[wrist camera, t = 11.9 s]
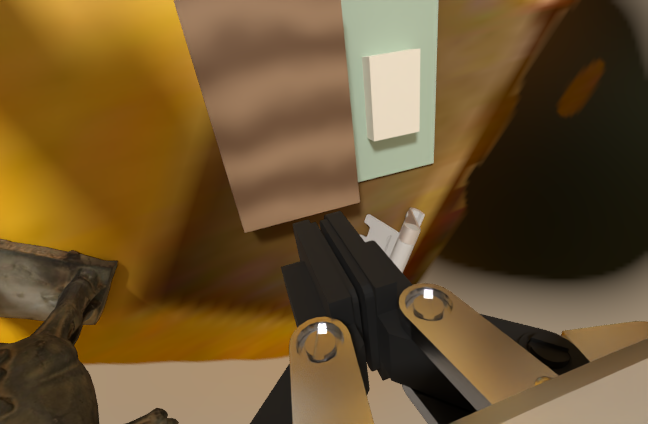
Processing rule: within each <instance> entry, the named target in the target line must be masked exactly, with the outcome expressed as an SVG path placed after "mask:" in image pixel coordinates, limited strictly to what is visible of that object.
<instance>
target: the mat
mask: <svg viewBox="0 0 648 424" xmlns="http://www.w3.org/2000/svg"><path fill="white" fill-rule="evenodd" d="M341 7H342V17H343V28H344V39H345V49H346V60H347V70H348V81H349V92H350V102H351V113H352V123H353V134H354V145H355V155H356V166H357V177H358V182H361V181H365V180H369V179H373V178H377V177H381V176H385V175H389V174H393V173H396V172H400V171H404V170H408V169H412V168H416V167H420V166H424V165H428V164H432V163H434V131H435V97H436V63H437V29H438V0H341ZM408 49H420V129H419V132H415V133H410V134H406V135H401V136H397V137H392V138H388V139H383V140H379V141H372V140H370V139H368V138H367V127H366V112H365V97H364V82H363V67H362V57H365V56H371V55H378V54H384V53H390V52H396V51H402V50H408Z"/></svg>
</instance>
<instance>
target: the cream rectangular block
mask: <svg viewBox="0 0 648 424" xmlns="http://www.w3.org/2000/svg"><path fill="white" fill-rule="evenodd" d="M362 67H363V82H364V97H365V112H366V127H367V138H368V139H370V140H372V141H379V140H383V139H388V138H392V137H397V136H401V135H406V134H410V133H415V132H419V129H420V49H408V50H402V51H396V52H390V53H384V54H378V55H371V56H365V57H362Z"/></svg>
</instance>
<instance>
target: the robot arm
mask: <svg viewBox="0 0 648 424" xmlns="http://www.w3.org/2000/svg"><path fill="white" fill-rule="evenodd" d="M320 228H321V230H320V229H319V227H318V225H317V223H316V222H313V223H310V221H309V220H304V221H301V222H297V223H293V230H294V234H295V239H296V244H297V248H298V253H299V257H300V262H296V263H293V264H290V265H286V266H283V267H281V269H282V273H283V277H284V281H285V285H286V289H287V293H288V296H289V300H290V304H291V307H292V311H293V314H294V318H295V321H296V325H297V329H296V330H295V331H294V333H293V335H292V337H291V339H290V344H289V357H290V364H289V365H288V367H287V368H286V370H285V371H284V373H283V375H282V376H281V377H280V379H279V380H278V382H277V384H276V385H275V387H274V388H273V390H272V391H271V393H270V394H269V396H268V398H267V399H266V400H265V402H264V403H263V405H262V406H261V408H260V409H259V411H258V413H257V414H256V415H255V417H254V418H253V420H252V422H251V423H250V424H374V421H373V418H372V414H371V410H370V406H369V403H368V399H367V394H368V391H369V381H368V372H367V364H368V366H369V368H370V369H371V371H375V370H378V372H379V374H380V376H381V378H382V380H386V379H388V378H391V380H392V381H394V382H397V383H400V384H402V387H403V389H404V391H405V393H406V395H407V396H408V398H409V399H410V400H411V402H412V403H413V404H414V406H415V407H416V408H417V410H418V411H419V412H420V414H421V415H422V416H423V418H424V419H425V421H426V422H427V423H428V424H648V322H647V321H633V322H625V323H618V324H610V325H603V326H595V327H588V328H580V329H573V330H565V331H562V334H561V336H560V335H558V334H556V333H553V332H550V331H547V330H543V329H539V328H535V327H531V326H527V325H523V324H519V323H514V322H511V321H507V320H503V319H498V318H495V317H490V316H486V315H482V314H479V313H478V312H476V311H475V310H474V309H472V308H471V307H470V306H469V305H467V304H466V303H465V302H463V301H462V300H461V299H460V298H458V297H457V296H456V295H454V294H453V293H452V292H450V291H449V290H447V289H445V288H444V287H441V286H438V285H435V284H428V283H422V284H415V285H412V284H411V283H410V281H409V280H408V279H407V278H406V277H405V276H404V274H403V273H402V272H401V271H400V270H399V269H398V267H397V266H396V265H395V264H394V263H393V261H392V260H391V259H390V258H389V257H388V256H387V254H386V253H385V252H384V251H383V250H382V249H381V247H380V246H379V245H378V244H377V243H376V242H375V241H373V240H371V241H368V242H365V241H364V240H363V239H362V238H361V236H360V235H359V234H358V232H357V231H356V230H355V229H354V227H353V226H352V225H351V224H350V222H349V221H348V220H347V219H346V217H345V216H344V215H343V214H342V212H341V211H338V212H334V213H331V214H327V215H325V216H324V220H321V221H320ZM366 362H367V363H366Z"/></svg>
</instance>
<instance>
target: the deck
mask: <svg viewBox="0 0 648 424" xmlns="http://www.w3.org/2000/svg"><path fill="white" fill-rule="evenodd" d="M174 3H175V6H176V10H177V13H178V16H179V20H180V23H181V26H182V29H183V33H184V36H185V39H186V42H187V46H188V49H189V52H190V55H191V59H192V62H193V65H194V69H195V72H196V75H197V78H198V82H199V85H200V88H201V91H202V95H203V98H204V101H205V104H206V108H207V111H208V114H209V118H210V121H211V124H212V127H213V131H214V134H215V137H216V140H217V144H218V147H219V150H220V153H221V157H222V160H223V163H224V167H225V170H226V173H227V176H228V180H229V183H230V186H231V189H232V193H233V196H234V199H235V202H236V206H237V209H238V212H239V215H240V219H241V222H242V225H243V229H244V232H245V233H246V232H250V231H254V230H258V229H261V228H265V227H269V226H273V225H277V224H280V223H284V222H288V221H292V220H295V219H299V218H303V217H307V216H310V215H314V214H318V213H322V212H325V211H329V210H333V209H337V208H340V207H344V206H348V205H352V204H355V203H359V202H360V198H359V187H358V177H357V166H356V155H355V145H354V134H353V123H352V113H351V102H350V92H349V81H348V70H347V60H346V49H345V39H344V28H343V17H342V7H341V0H174Z"/></svg>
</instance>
